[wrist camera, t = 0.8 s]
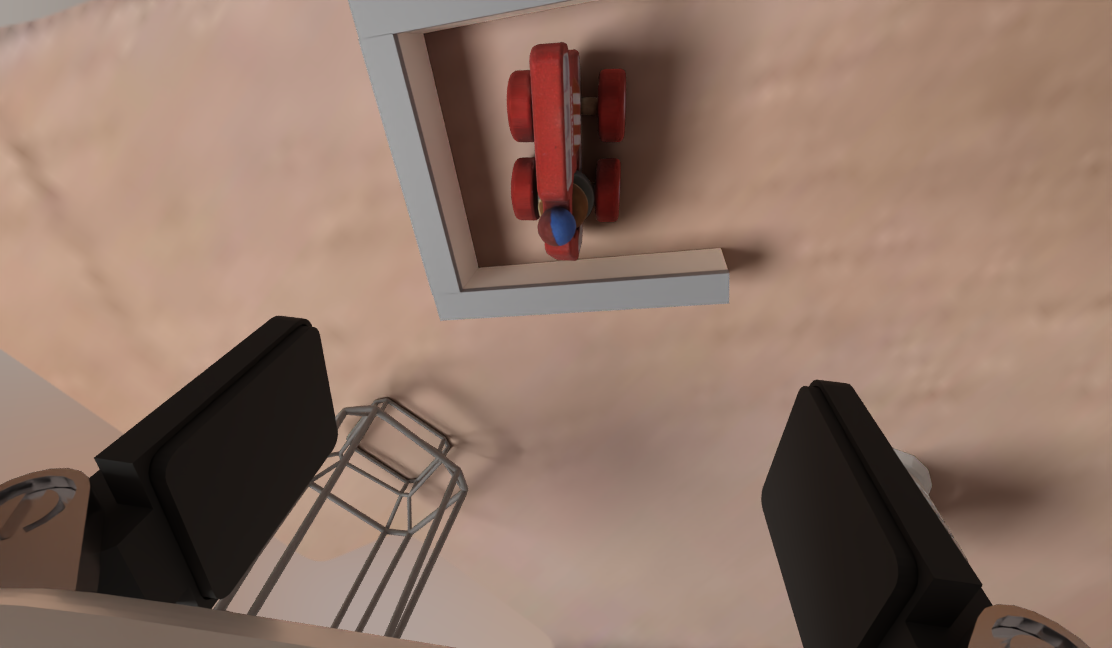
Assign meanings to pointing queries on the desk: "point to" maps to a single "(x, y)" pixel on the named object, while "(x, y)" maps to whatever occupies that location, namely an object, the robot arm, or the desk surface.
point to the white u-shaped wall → (436, 202)
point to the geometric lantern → (357, 434)
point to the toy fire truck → (563, 146)
